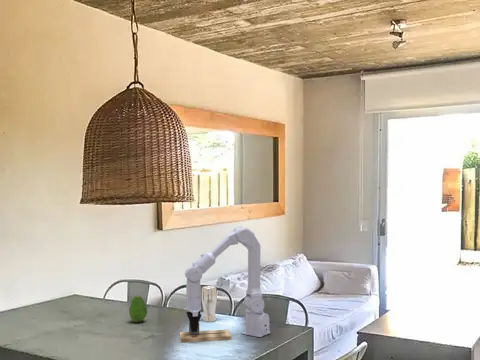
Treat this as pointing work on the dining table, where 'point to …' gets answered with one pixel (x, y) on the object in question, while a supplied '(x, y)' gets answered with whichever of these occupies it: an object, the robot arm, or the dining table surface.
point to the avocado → (137, 309)
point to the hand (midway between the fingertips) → (193, 330)
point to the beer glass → (209, 303)
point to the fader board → (205, 336)
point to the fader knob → (193, 332)
